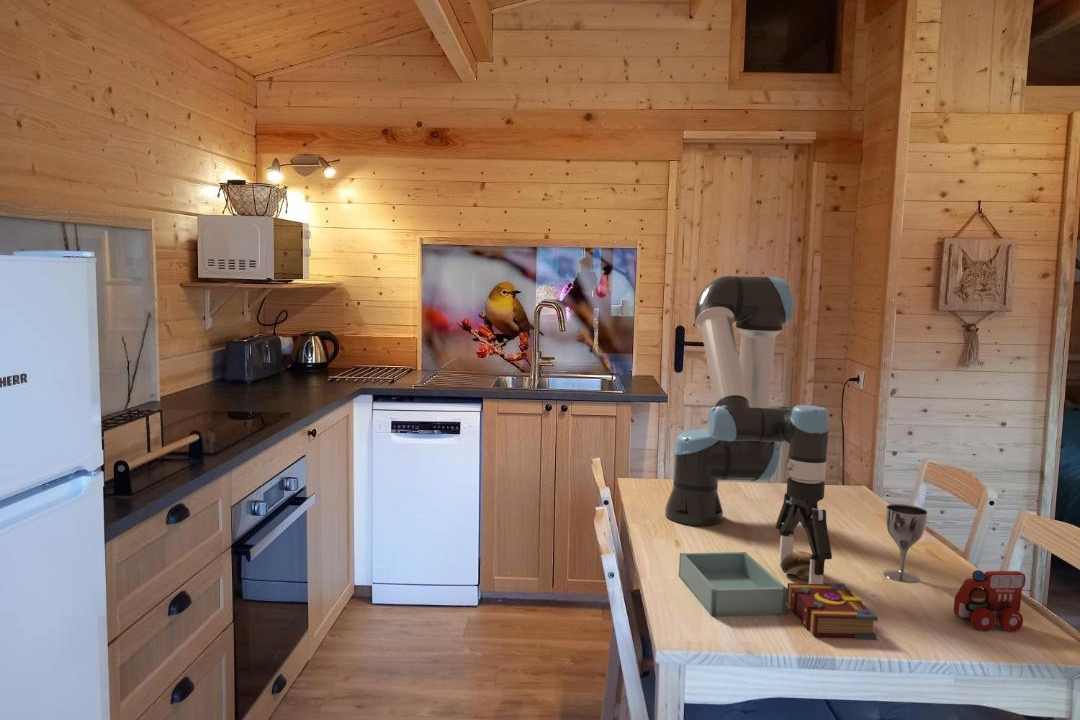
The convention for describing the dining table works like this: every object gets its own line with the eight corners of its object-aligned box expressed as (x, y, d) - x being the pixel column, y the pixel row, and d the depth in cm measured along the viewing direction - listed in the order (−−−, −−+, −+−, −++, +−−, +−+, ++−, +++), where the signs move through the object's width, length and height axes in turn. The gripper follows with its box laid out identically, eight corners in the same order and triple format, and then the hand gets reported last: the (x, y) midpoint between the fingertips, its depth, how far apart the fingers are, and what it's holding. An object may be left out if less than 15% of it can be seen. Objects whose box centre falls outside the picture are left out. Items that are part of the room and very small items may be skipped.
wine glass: (918, 572, 165) (924, 506, 164) (924, 585, 158) (930, 516, 156) (879, 567, 168) (884, 502, 166) (883, 580, 160) (888, 511, 159)
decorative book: (812, 639, 132) (814, 612, 132) (782, 601, 148) (784, 577, 148) (876, 641, 132) (878, 613, 132) (839, 603, 148) (841, 578, 148)
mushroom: (824, 573, 154) (813, 544, 157) (786, 583, 156) (776, 554, 159) (825, 579, 161) (815, 551, 164) (789, 589, 163) (779, 561, 166)
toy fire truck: (943, 614, 144) (947, 562, 143) (1006, 616, 144) (1011, 563, 143) (964, 631, 137) (968, 576, 136) (1030, 632, 137) (1036, 578, 136)
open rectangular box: (678, 576, 159) (679, 553, 158) (744, 574, 161) (745, 552, 160) (711, 616, 140) (713, 590, 139) (785, 614, 142) (787, 588, 141)
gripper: (764, 465, 170) (758, 555, 172) (818, 495, 146) (811, 600, 148) (795, 465, 171) (789, 555, 173) (854, 494, 147) (847, 599, 149)
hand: (799, 576), depth 161 cm, fingers open, 13 cm apart
